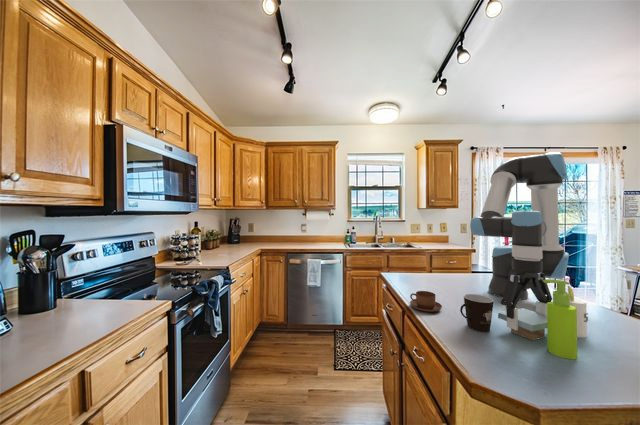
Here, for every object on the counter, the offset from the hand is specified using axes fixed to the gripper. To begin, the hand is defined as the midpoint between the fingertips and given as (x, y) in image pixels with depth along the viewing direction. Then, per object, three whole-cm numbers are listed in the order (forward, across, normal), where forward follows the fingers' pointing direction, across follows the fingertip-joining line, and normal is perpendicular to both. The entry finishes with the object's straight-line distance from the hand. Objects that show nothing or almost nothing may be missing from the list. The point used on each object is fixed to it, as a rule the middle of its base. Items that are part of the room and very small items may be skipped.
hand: (527, 325), depth 78 cm
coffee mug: (+3, +12, -9) cm, 15 cm away
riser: (+3, 0, 0) cm, 3 cm away
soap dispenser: (+3, +3, +10) cm, 11 cm away
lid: (-1, 0, 0) cm, 1 cm away
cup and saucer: (+3, +15, -28) cm, 32 cm away
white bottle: (+3, -15, +4) cm, 16 cm away
